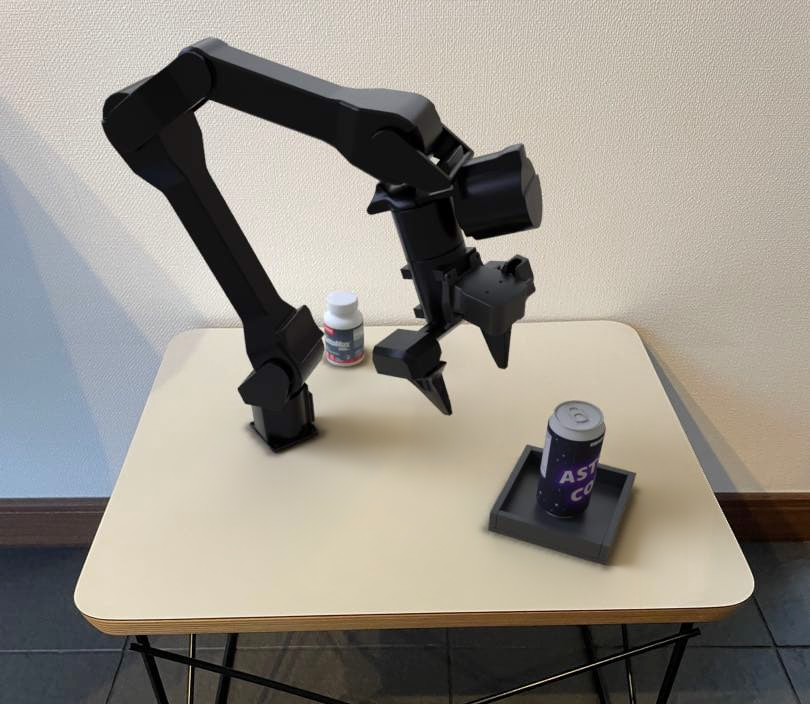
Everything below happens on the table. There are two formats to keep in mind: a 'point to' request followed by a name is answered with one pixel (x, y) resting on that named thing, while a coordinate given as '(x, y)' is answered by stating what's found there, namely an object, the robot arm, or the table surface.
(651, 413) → the table surface
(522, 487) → the square tray
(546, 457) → the beverage can
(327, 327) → the pill bottle
